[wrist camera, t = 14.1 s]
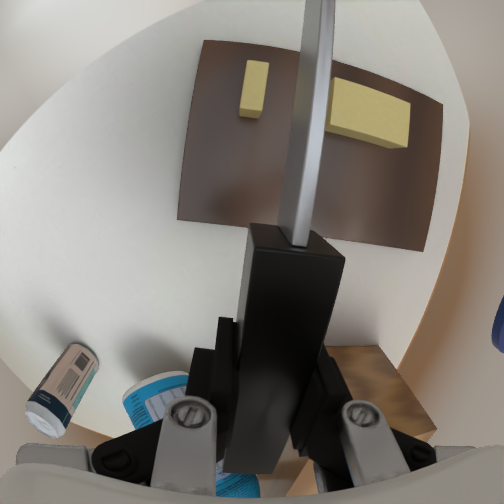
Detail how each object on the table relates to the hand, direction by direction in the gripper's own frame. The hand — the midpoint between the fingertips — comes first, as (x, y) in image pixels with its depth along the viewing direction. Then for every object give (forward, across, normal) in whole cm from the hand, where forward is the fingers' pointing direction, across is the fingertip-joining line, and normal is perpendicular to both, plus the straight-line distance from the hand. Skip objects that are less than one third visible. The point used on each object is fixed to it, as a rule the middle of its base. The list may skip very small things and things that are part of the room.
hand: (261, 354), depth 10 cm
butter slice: (+14, +2, -13) cm, 19 cm away
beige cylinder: (+15, +18, +16) cm, 28 cm away
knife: (0, 0, -6) cm, 6 cm away
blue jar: (+12, +8, +15) cm, 21 cm away
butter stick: (+14, -8, -13) cm, 21 cm away
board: (+15, -6, -10) cm, 19 cm away
